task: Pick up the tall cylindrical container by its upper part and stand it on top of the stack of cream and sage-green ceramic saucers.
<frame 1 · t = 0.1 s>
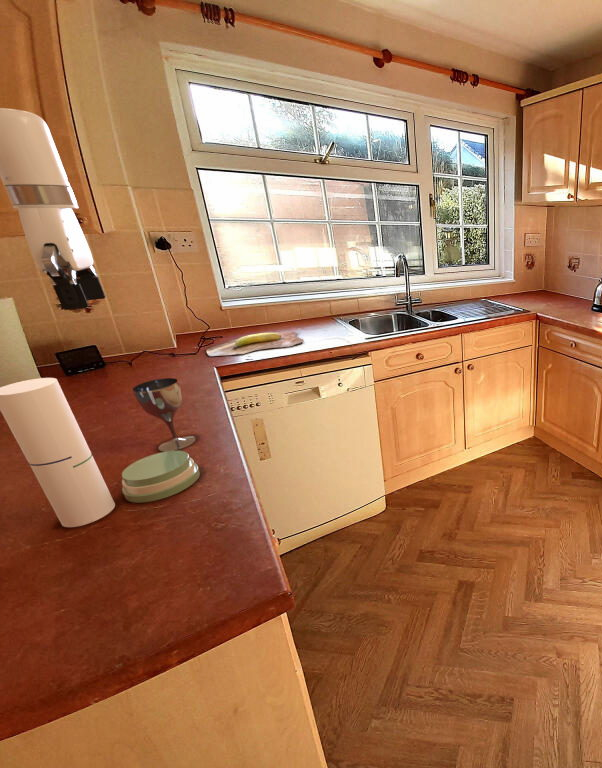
hand: (86, 303, 75), 35 cm above the counter, tool pointing down, fingers open, 9 cm apart
wine glass: (177, 444, 99), on the counter
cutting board: (257, 344, 175), on the counter
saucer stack: (163, 483, 84), on the counter
cylindrical container: (89, 514, 76), on the counter
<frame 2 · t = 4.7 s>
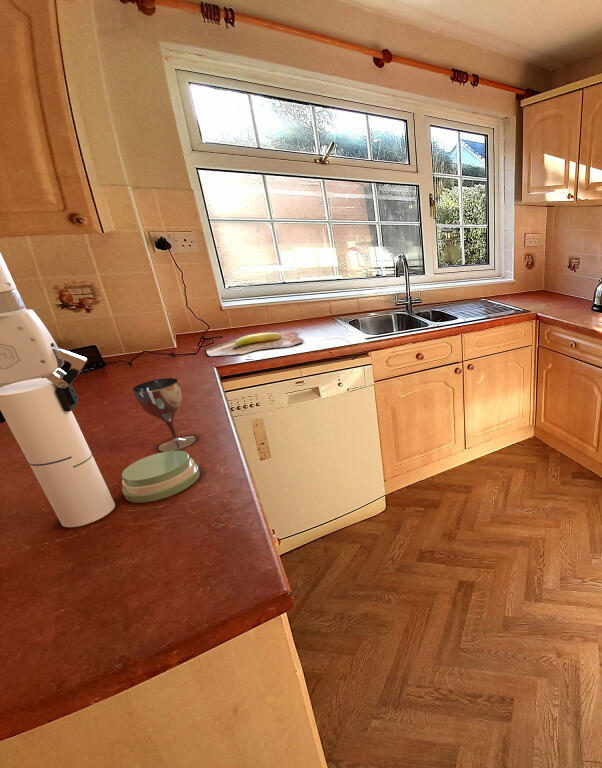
hand: (39, 413, 68), 20 cm above the counter, tool pointing down, fingers closed on cylindrical container, 7 cm apart
cylindrical container: (89, 514, 76), on the counter, touching gripper
everything else where it was.
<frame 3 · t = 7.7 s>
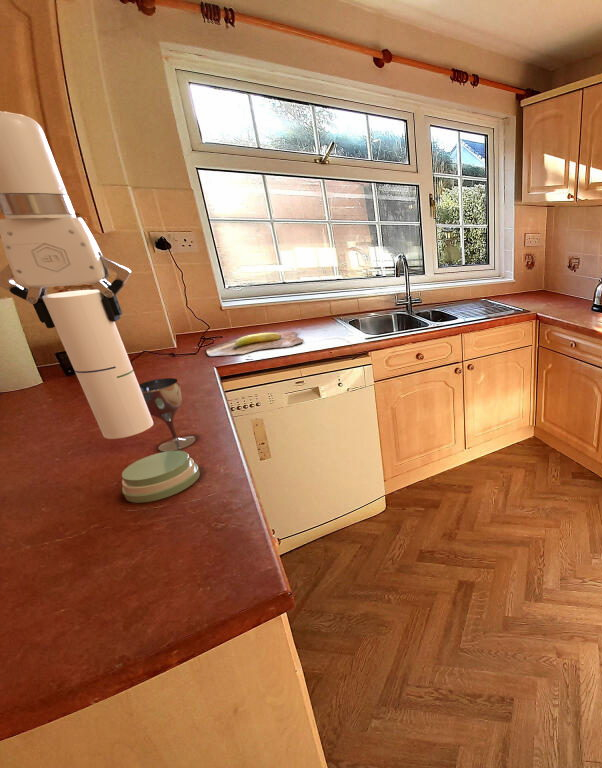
hand: (85, 322, 70), 33 cm above the counter, tool pointing down, fingers closed on cylindrical container, 7 cm apart
cylindrical container: (129, 430, 78), point 13 cm above the counter, touching gripper
everything else where it was.
when the fingers open (25 cm above the counter, at t = 10.7 s): cylindrical container stays where it is, resting on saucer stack.
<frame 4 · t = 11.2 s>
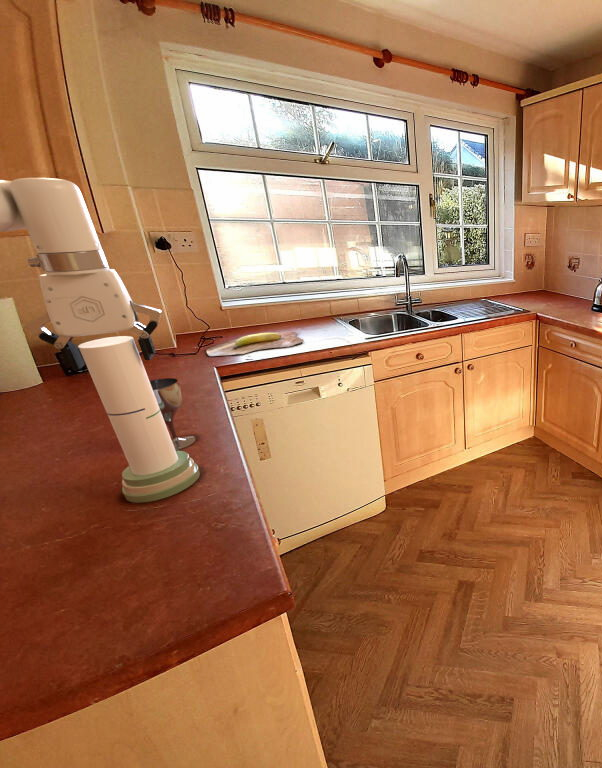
hand: (115, 363, 75), 26 cm above the counter, tool pointing down, fingers open, 9 cm apart
cylindrical container: (156, 465, 83), point 4 cm above the counter, touching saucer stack
everything else where it was.
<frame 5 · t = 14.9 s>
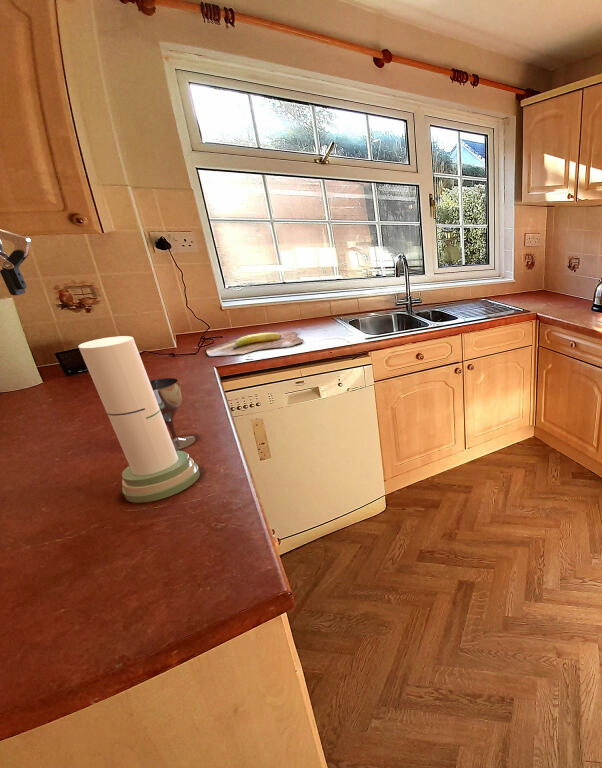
nothing on the counter moved.
at the end: cylindrical container 0.1 cm off-centre on the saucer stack, point 4.3 cm above the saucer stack's base; cylindrical container tilted 0°; the gripper is holding nothing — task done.
